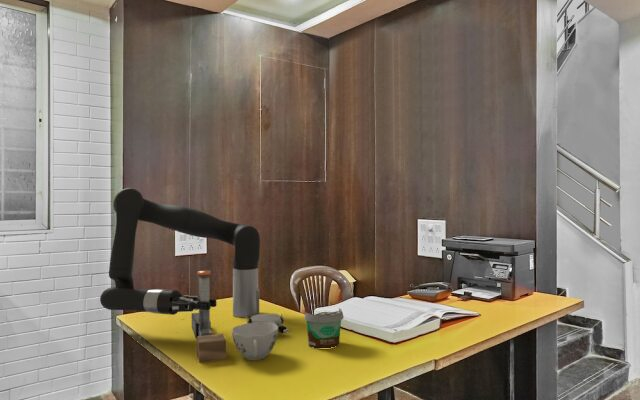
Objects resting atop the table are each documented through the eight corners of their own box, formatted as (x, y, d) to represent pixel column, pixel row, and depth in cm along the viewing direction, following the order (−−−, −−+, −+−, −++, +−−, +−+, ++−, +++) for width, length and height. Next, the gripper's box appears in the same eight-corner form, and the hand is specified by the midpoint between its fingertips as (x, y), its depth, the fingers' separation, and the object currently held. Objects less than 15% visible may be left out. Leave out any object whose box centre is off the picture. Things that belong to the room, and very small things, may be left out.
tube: (192, 324, 154) (192, 264, 154) (204, 323, 155) (204, 263, 155) (199, 344, 133) (199, 274, 133) (213, 342, 135) (213, 274, 135)
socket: (196, 355, 126) (196, 336, 126) (222, 352, 129) (222, 333, 129) (199, 362, 121) (199, 342, 121) (226, 359, 123) (226, 340, 123)
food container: (313, 353, 128) (313, 317, 128) (304, 346, 134) (304, 312, 134) (351, 346, 134) (351, 312, 134) (340, 340, 139) (340, 307, 139)
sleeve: (191, 326, 154) (191, 313, 154) (205, 325, 156) (205, 312, 156) (195, 338, 142) (195, 323, 142) (210, 336, 143) (210, 321, 143)
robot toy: (291, 340, 143) (281, 324, 157) (291, 326, 142) (281, 311, 157) (251, 344, 139) (245, 327, 153) (251, 329, 139) (245, 313, 153)
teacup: (233, 350, 131) (233, 322, 131) (277, 348, 132) (277, 320, 132) (230, 370, 116) (230, 338, 116) (279, 367, 117) (279, 336, 117)
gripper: (149, 294, 136) (201, 297, 132) (175, 285, 150) (223, 287, 146) (149, 319, 136) (201, 323, 132) (175, 308, 150) (223, 311, 146)
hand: (212, 304), depth 139 cm, fingers closed on tube, 3 cm apart
